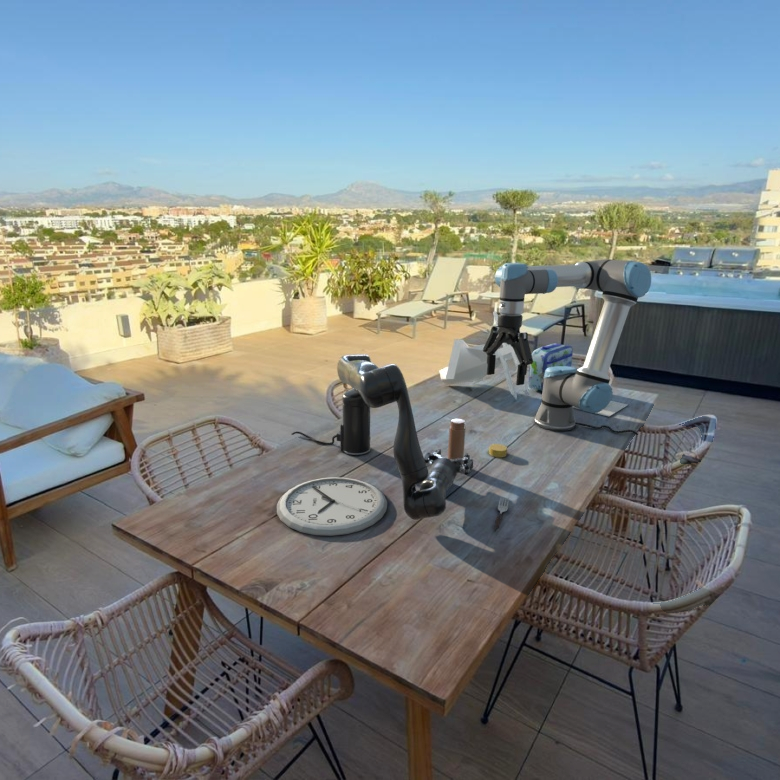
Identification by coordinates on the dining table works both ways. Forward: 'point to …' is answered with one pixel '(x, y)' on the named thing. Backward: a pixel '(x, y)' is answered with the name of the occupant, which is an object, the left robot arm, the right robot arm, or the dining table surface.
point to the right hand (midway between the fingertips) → (504, 379)
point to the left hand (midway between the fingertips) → (453, 453)
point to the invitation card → (611, 408)
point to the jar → (456, 439)
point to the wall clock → (331, 506)
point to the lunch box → (547, 362)
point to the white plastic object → (478, 364)
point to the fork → (501, 509)
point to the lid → (498, 450)
